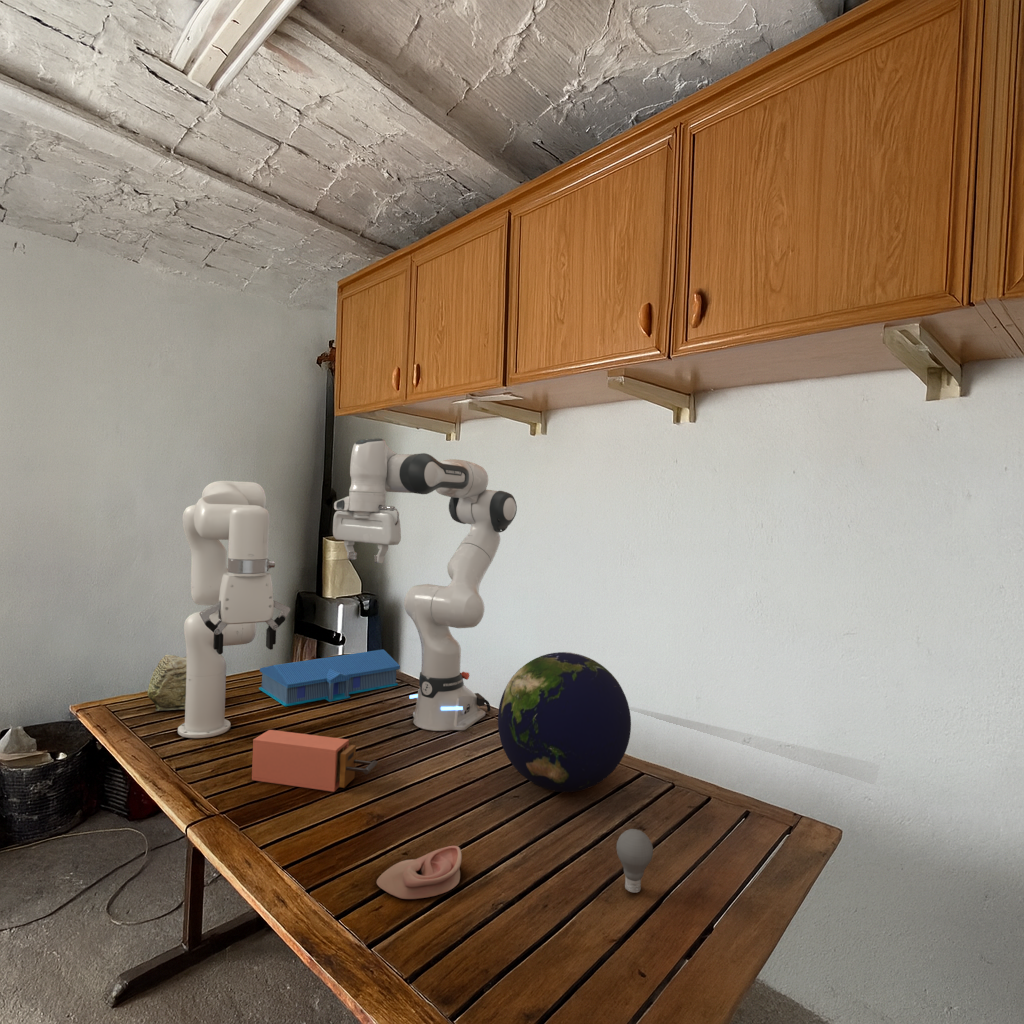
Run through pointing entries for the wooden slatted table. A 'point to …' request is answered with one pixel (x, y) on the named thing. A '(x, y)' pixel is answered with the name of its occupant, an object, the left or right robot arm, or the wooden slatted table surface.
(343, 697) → the model building
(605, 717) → the globe
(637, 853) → the light bulb
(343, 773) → the drawer
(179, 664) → the fossil
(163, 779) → the wooden slatted table surface
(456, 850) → the anatomical model
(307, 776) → the cabinet
